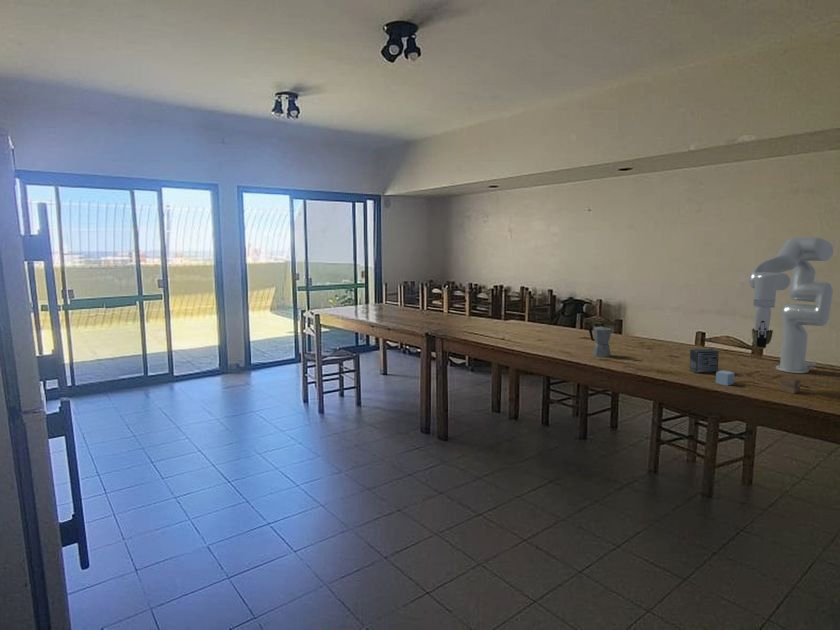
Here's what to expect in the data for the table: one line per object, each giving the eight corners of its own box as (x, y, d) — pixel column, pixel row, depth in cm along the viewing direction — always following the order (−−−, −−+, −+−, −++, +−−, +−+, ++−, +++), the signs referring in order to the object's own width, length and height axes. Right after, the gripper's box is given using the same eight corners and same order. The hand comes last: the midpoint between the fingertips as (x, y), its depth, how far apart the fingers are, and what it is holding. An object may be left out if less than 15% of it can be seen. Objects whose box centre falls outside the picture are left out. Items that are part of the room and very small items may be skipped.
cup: (766, 346, 218) (767, 328, 217) (775, 349, 211) (776, 331, 210) (747, 346, 220) (748, 328, 218) (755, 349, 212) (756, 331, 211)
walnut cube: (786, 388, 212) (786, 377, 211) (799, 391, 208) (800, 379, 207) (779, 390, 209) (780, 378, 209) (793, 393, 205) (794, 381, 204)
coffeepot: (617, 356, 277) (618, 323, 275) (606, 358, 272) (607, 325, 270) (593, 351, 290) (594, 320, 287) (582, 353, 285) (583, 322, 282)
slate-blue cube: (722, 381, 225) (722, 370, 224) (733, 383, 220) (734, 372, 220) (715, 383, 222) (716, 371, 222) (727, 385, 218) (727, 374, 217)
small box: (710, 369, 245) (711, 348, 244) (718, 372, 239) (719, 351, 237) (688, 370, 245) (689, 348, 243) (696, 373, 238) (697, 351, 237)
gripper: (754, 300, 222) (751, 341, 224) (752, 305, 208) (750, 348, 210) (774, 301, 218) (771, 342, 220) (775, 306, 203) (772, 350, 206)
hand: (761, 344), depth 215 cm, fingers closed on cup, 6 cm apart
